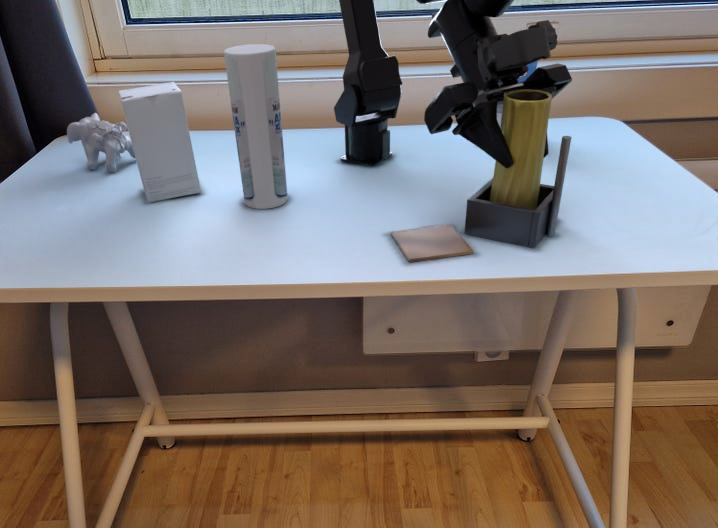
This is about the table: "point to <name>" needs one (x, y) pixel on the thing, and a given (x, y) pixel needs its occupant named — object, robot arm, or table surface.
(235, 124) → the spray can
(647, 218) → the table surface
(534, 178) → the vase
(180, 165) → the cosmetic box
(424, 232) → the cork pad
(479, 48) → the robot arm
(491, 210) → the holder
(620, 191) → the table surface
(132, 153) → the elephant statuette
